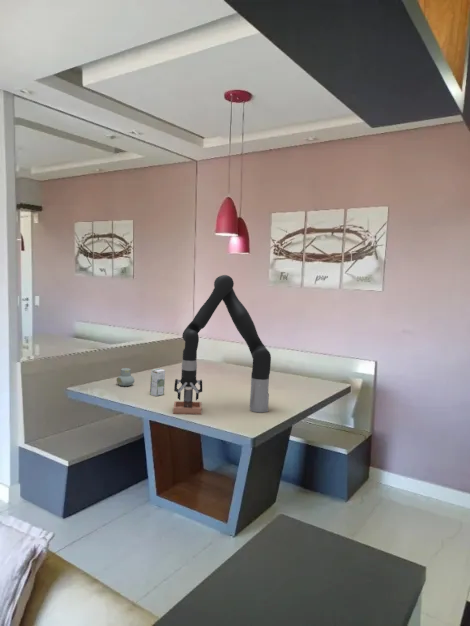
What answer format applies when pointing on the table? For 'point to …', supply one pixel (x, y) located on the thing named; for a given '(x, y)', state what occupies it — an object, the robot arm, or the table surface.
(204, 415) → the table surface
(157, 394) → the syrup box
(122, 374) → the air freshener
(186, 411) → the tray
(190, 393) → the shaker
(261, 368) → the robot arm
